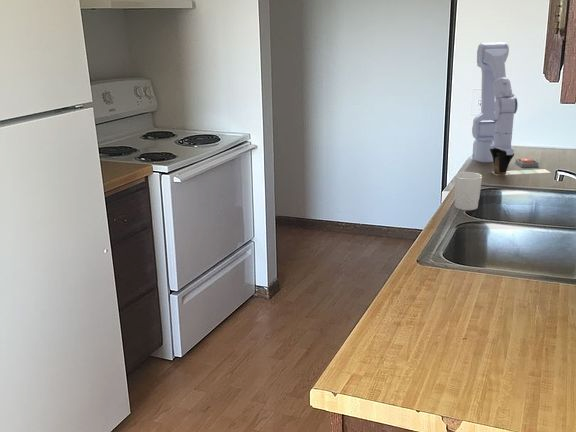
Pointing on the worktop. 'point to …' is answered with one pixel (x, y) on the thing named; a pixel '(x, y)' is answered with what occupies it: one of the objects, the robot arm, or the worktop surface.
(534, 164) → the button housing
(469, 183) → the white cup
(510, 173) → the board
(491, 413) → the worktop surface
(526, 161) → the button
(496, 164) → the brown wooden cylinder
